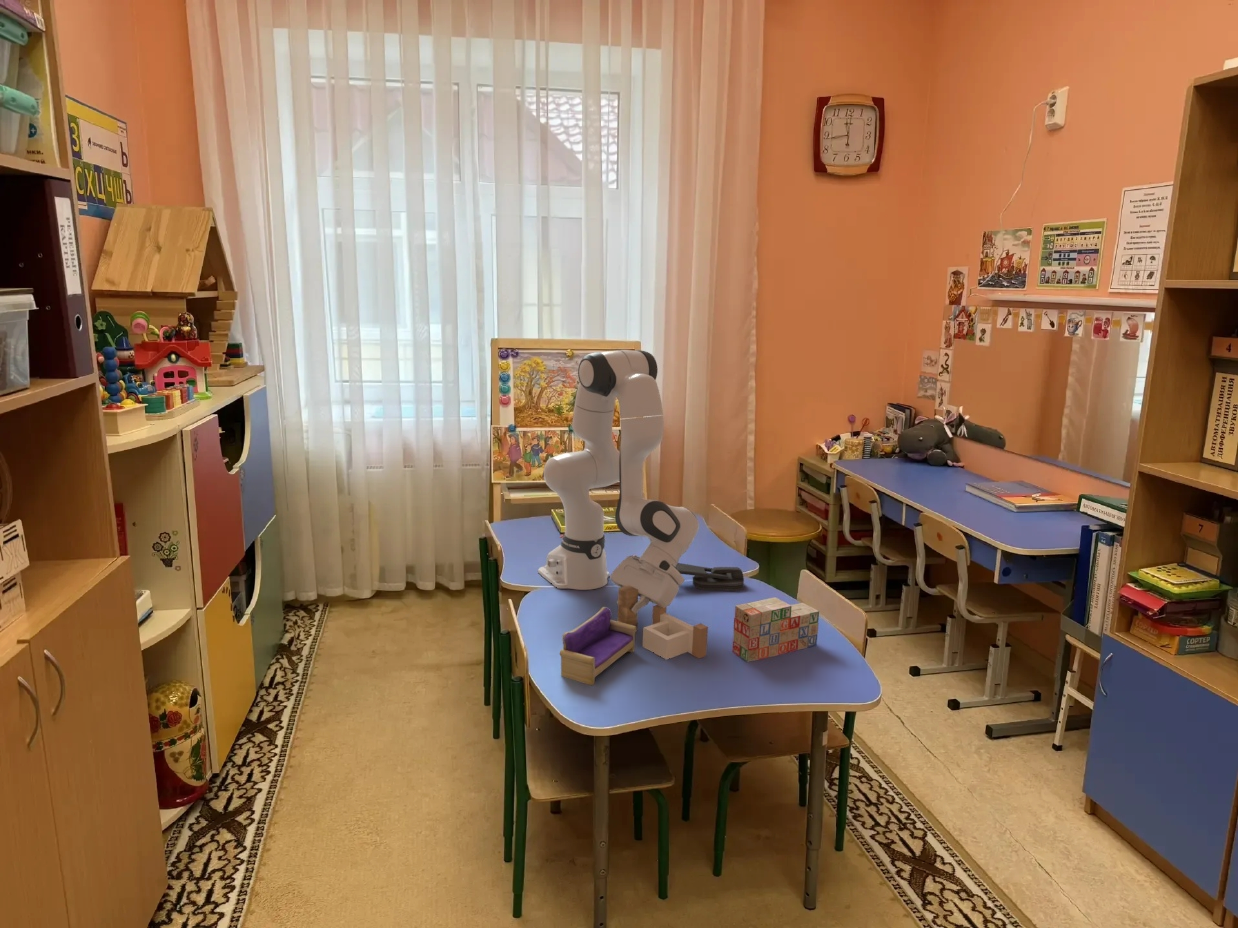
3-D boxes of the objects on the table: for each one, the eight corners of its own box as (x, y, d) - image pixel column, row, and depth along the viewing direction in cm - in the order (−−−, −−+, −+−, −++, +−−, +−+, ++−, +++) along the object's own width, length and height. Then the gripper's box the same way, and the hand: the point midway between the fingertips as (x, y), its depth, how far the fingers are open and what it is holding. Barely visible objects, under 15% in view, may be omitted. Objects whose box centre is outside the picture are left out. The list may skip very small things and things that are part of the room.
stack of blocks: (800, 636, 211) (804, 590, 208) (816, 646, 206) (821, 599, 203) (731, 651, 201) (734, 604, 198) (747, 662, 196) (750, 614, 193)
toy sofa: (591, 687, 182) (592, 644, 179) (558, 677, 186) (559, 635, 183) (636, 651, 200) (638, 612, 197) (605, 643, 204) (606, 604, 201)
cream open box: (631, 640, 205) (632, 612, 203) (658, 631, 211) (660, 603, 209) (678, 666, 193) (680, 636, 191) (706, 655, 198) (707, 626, 197)
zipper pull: (657, 558, 245) (740, 558, 247) (656, 579, 246) (739, 579, 249) (661, 569, 236) (747, 569, 239) (660, 591, 238) (746, 591, 240)
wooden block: (616, 628, 212) (617, 588, 209) (627, 625, 214) (629, 585, 211) (626, 633, 209) (627, 592, 206) (637, 630, 211) (639, 589, 209)
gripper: (624, 546, 219) (593, 589, 215) (677, 569, 204) (645, 615, 200) (636, 559, 223) (606, 601, 219) (689, 582, 208) (658, 628, 204)
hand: (625, 608), depth 210 cm, fingers closed on wooden block, 3 cm apart
